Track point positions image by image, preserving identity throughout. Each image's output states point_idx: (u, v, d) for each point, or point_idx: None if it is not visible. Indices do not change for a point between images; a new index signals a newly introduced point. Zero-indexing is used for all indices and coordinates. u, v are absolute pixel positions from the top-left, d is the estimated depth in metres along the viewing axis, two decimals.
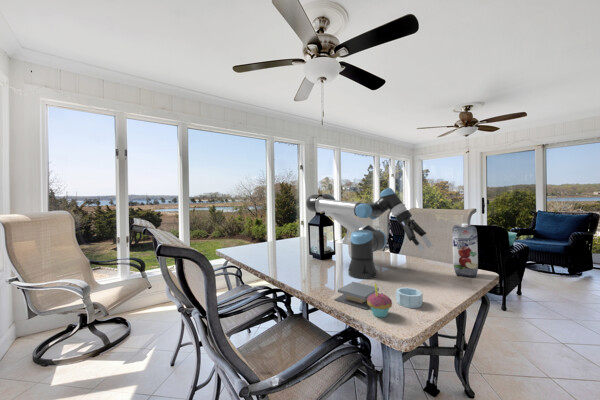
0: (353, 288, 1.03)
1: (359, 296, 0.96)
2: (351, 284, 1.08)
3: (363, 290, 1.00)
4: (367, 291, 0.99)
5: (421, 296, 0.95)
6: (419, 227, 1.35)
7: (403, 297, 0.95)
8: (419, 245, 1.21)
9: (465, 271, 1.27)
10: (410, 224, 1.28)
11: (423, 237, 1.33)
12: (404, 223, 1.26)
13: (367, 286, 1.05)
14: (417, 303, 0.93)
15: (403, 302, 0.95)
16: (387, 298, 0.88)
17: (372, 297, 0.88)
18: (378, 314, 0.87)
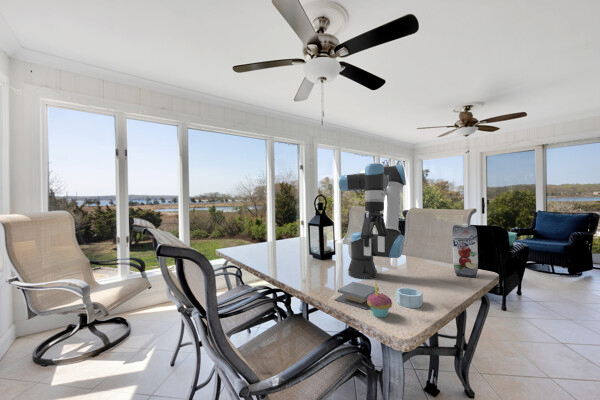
0: (353, 288, 1.03)
1: (359, 296, 0.96)
2: (351, 284, 1.08)
3: (363, 290, 1.00)
4: (367, 291, 0.99)
5: (421, 296, 0.95)
6: (383, 226, 1.07)
7: (403, 297, 0.95)
8: (367, 248, 0.96)
9: (465, 271, 1.27)
10: (374, 220, 0.99)
11: (380, 238, 1.07)
12: (368, 216, 0.97)
13: (367, 286, 1.05)
14: (417, 303, 0.93)
15: (403, 302, 0.95)
16: (387, 298, 0.88)
17: (372, 297, 0.88)
18: (378, 314, 0.87)
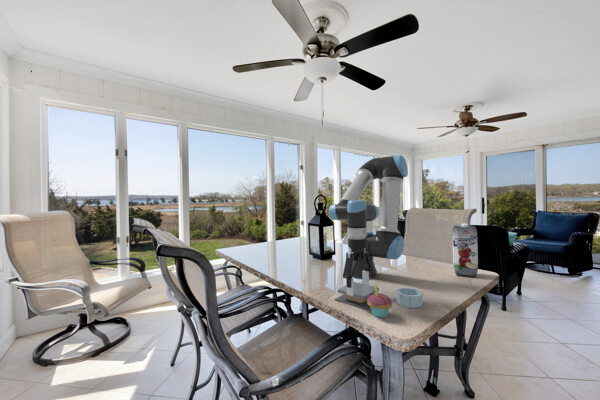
0: None
1: (359, 296, 0.96)
2: None
3: (363, 290, 1.00)
4: (367, 291, 0.99)
5: (421, 296, 0.95)
6: (368, 260, 1.07)
7: (403, 297, 0.95)
8: (350, 288, 0.97)
9: (465, 271, 1.27)
10: (357, 258, 0.99)
11: (364, 273, 1.07)
12: (349, 256, 0.97)
13: (367, 286, 1.05)
14: (417, 303, 0.93)
15: (403, 302, 0.95)
16: (387, 298, 0.88)
17: (372, 297, 0.88)
18: (378, 314, 0.87)
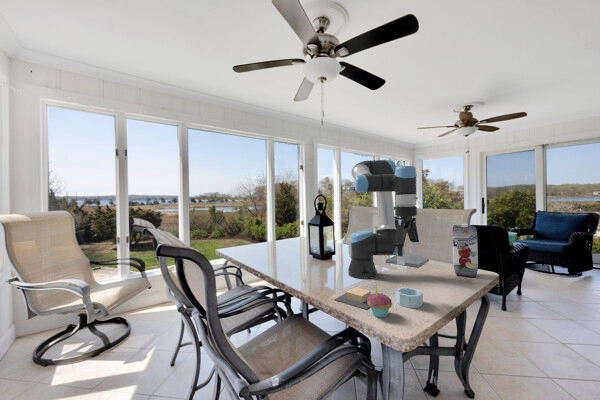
0: None
1: (412, 265, 0.91)
2: None
3: (413, 260, 0.95)
4: (418, 260, 0.94)
5: (421, 296, 0.95)
6: (415, 230, 1.02)
7: (403, 297, 0.95)
8: (401, 257, 0.93)
9: (465, 271, 1.27)
10: (407, 226, 0.95)
11: (412, 244, 1.02)
12: (401, 223, 0.92)
13: (415, 257, 1.00)
14: (417, 303, 0.93)
15: (403, 302, 0.95)
16: (387, 298, 0.88)
17: (372, 297, 0.88)
18: (378, 314, 0.87)
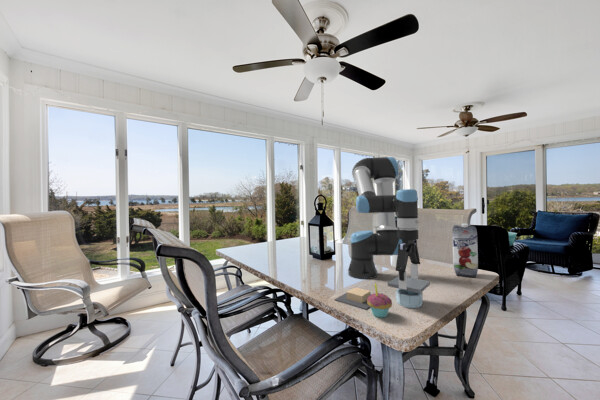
0: None
1: (413, 289, 0.91)
2: None
3: (415, 284, 0.95)
4: (419, 284, 0.94)
5: (421, 296, 0.95)
6: (417, 252, 1.02)
7: (403, 297, 0.95)
8: (403, 281, 0.92)
9: (465, 271, 1.27)
10: (409, 250, 0.95)
11: (413, 266, 1.02)
12: (402, 247, 0.92)
13: (417, 280, 1.00)
14: (417, 303, 0.93)
15: (403, 302, 0.95)
16: (387, 298, 0.88)
17: (372, 297, 0.88)
18: (378, 314, 0.87)
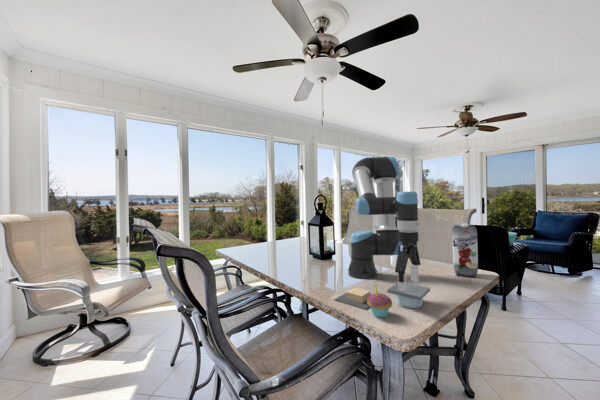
0: None
1: (413, 296, 0.91)
2: None
3: (415, 290, 0.96)
4: (419, 291, 0.95)
5: None
6: (417, 254, 1.02)
7: (403, 297, 0.95)
8: (402, 283, 0.92)
9: (465, 271, 1.27)
10: (409, 252, 0.94)
11: (413, 267, 1.03)
12: (402, 249, 0.92)
13: (417, 286, 1.00)
14: (417, 303, 0.93)
15: (403, 302, 0.95)
16: (387, 298, 0.88)
17: (372, 297, 0.88)
18: (378, 314, 0.87)
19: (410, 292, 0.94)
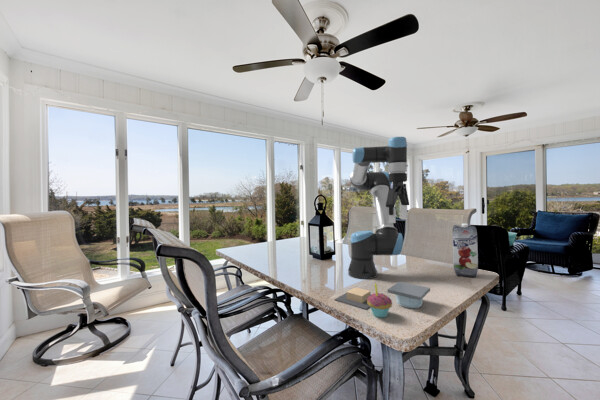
0: (403, 288, 0.98)
1: (413, 296, 0.91)
2: (399, 284, 1.03)
3: (415, 290, 0.96)
4: (419, 291, 0.95)
5: None
6: (406, 195, 1.15)
7: (403, 297, 0.95)
8: (392, 216, 1.05)
9: (465, 271, 1.27)
10: (398, 190, 1.07)
11: (403, 207, 1.16)
12: (392, 186, 1.05)
13: (417, 286, 1.00)
14: (417, 303, 0.93)
15: (403, 302, 0.95)
16: (387, 298, 0.88)
17: (372, 297, 0.88)
18: (378, 314, 0.87)
19: (410, 292, 0.94)
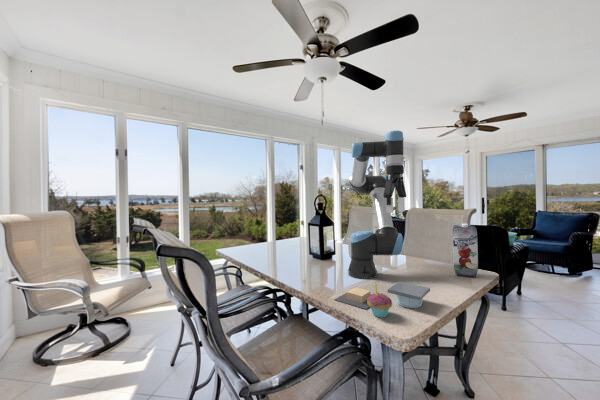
0: (403, 288, 0.98)
1: (413, 296, 0.91)
2: (399, 284, 1.03)
3: (415, 290, 0.96)
4: (419, 291, 0.95)
5: None
6: (403, 188, 1.19)
7: (403, 297, 0.95)
8: (389, 206, 1.09)
9: (465, 271, 1.27)
10: (395, 181, 1.11)
11: (400, 199, 1.20)
12: (390, 177, 1.09)
13: (417, 286, 1.00)
14: (417, 303, 0.93)
15: (403, 302, 0.95)
16: (387, 298, 0.88)
17: (372, 297, 0.88)
18: (378, 314, 0.87)
19: (410, 292, 0.94)
